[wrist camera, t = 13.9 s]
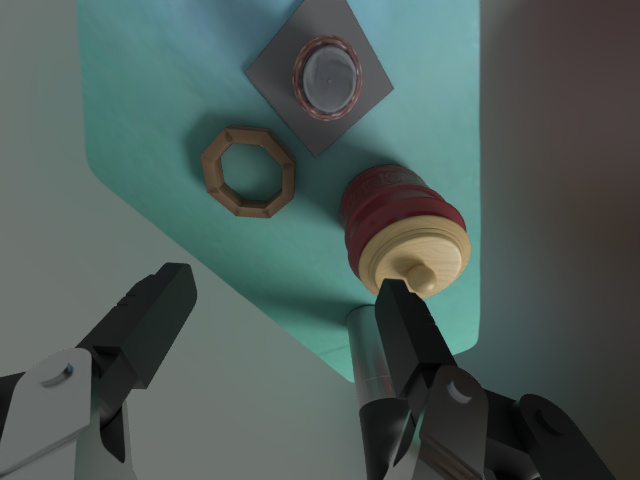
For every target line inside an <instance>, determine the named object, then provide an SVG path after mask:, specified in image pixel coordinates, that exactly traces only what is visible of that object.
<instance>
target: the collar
mask: <svg viewBox="0 0 640 480" xmlns="http://www.w3.org/2000/svg"><path fill="white" fill-rule="evenodd" d="M232 143H243V144H255V145H262V146H263V147H264V148H265V150H266V151H267V152H268V153H269V154H270V155H271V156H272V157H273V158H274V159H275V160H276V161H277V162H278V163H279V165H280V166H281V167H282V189H281V190H280V191H279V192H278V193H277V194H276V195H274V196H273V197H272V198H271V199H270V200H269V201H255V200H244V199H242V198H241V197H240V196H239V195H238V194H237V193H236V192H235V191H233V190H232V189H231V188H230V187H229V186H228V185H227V184H226V183H224V178H223V171H222V165H221V158H220V157H221V155H222V154H223V153H224V152H225V151H226V150H227V149H228V148H229V147H230V146H231V145H232ZM200 157H201V162H202V167H203V172H204V177H205V182H206V187H207V192H208V193H209V194H210V195H211V196H212V197H214V198H215V199H216V200H217V201H218V202H220V203H221V204H222V205H223V206H224V207H226V208H227V209H228V210H229V211H230V212H232V213H233V214H234V215H235V216H241V217H256V218H271V217H272V216H273V215H274V214H275V213H277V212H278V211H279V210H280V209H281V208H283V207H284V206H285V205H286V204H287V203H289V202H290V201H291V200H292V199H293V198H294V192H295V160H296V158H295V157H294V156H293V155H292V154H291V153H290V151H289V150H288V149H287V148H286V147H285V146H284V145H283V144H282V142H281V141H280V140H279V139H278V138H277V137H276V136H275V134H274V133H273V132H272V131H271V130H270V129H268V128H257V127H246V126H235V125H230V126H228V127H226V128H224V129H223V130H222V131H221V133H220V134H219V135H218V136H217V137H216V138H215V140H214V141H213V142H212V143H211V144H210V145H209V146H208V148H207V149H206V150H205V151H204V152H203V153H202V154H201V156H200Z"/></svg>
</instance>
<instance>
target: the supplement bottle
mask: <svg viewBox="0 0 640 480" xmlns="http://www.w3.org/2000/svg"><path fill="white" fill-rule="evenodd" d="M361 86H362V68H361V64H360V60H359V58H358V56H357V54H356V52H355V50H354V49H353V47H352V46H351V45H350V44H349V43H348V42H347V41H345V40H344V39H342V38H340V37H337V36H334V35H322V36H318V37H316V38H314V39H312V40H311V41H309V42H308V43H307V44H306V45H305V46H304V47H303V48H302V49H301V51H300V52H299V54H298V55H297V57H296V60H295V62H294V66H293V71H292V87H293V91H294V94H295V97H296V100H297V102H298V103H299V105H300V107H301V108H302V109H303V110H304V111H305V112H306V113H307V114H308V115H310V116H311V117H313V118H315V119H318V120H321V121H332V120H336V119H338V118H341V117H343V116H344V115H345V114H347V113H348V112H349V111H350V110H351V108H352V107H353V106H354V104H355V103H356V101H357V99H358V96H359V94H360V91H361Z"/></svg>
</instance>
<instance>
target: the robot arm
mask: <svg viewBox="0 0 640 480" xmlns="http://www.w3.org/2000/svg"><path fill="white" fill-rule="evenodd" d="M196 300H197V289H196V286H195V281H194V277H193V274H192V270H191V267H190V265H189V264H184V263H165V264H164V265H163V266H162V267H161V268H160V270H159V271H158V272H157V273H156V274H155V275H149V276H147V277H146V278H144V279H143V280H141V281H139V282H138V283H136V284H135V286H133V287H132V288H131V290H130V291H129V292H128V293H127V294H126V296H125V297H123V298H122V299H121V300H120V301H119V302H118V303H117V306H114V307H113V308H112V309H111V311H110V312H109V313H108V314H107V315H106V316H105V317H104V318H103V319H102V320H101V321H100V322H99V323H98V324H97V325H96V326H95V327H94V328H93V329H92V331H91V332H90V333H89V334H88V335H87V336H86V337H85V338H84V339H83V340H82V341H81V342H80V343H79V344H78V345H77V346H76V347H75V348H72V349H67V350H63V351H60V352H57V353H55V354H53V355H51V356H48V357H47V358H45V359H43V360H42V361H40V362H38V363H37V364H36V365H34V366H33V367H32V368H30V369H29V370H28V371H27V372H22V373H18V374H13V375H9V376H5V377H0V480H137V477H136V474H135V472H134V470H133V465H132V458H131V446H130V434H129V423H128V410H127V402H126V400H125V399H126V397H127V396H128V394H129V393H130V391H131V389H147V387H148V385H149V384H150V382H151V380H152V379H153V377H154V375H155V373H156V371H157V370H158V368H159V366H160V365H161V363H162V361H163V360H164V358H165V356H166V354H167V353H168V351H169V349H170V347H171V346H172V344H173V342H174V340H175V339H176V337H177V335H178V333H179V332H180V330H181V328H182V327H183V325H184V323H185V321H186V320H187V318H188V316H189V314H190V313H191V311H192V309H193V307H194V306H195V303H196ZM347 327H348V335H349V343H350V350H351V357H352V365H353V372H354V379H355V386H356V394H357V401H358V408H359V416H360V422H361V430H362V438H363V444H364V453H365V462H366V471H367V480H483V473H484V475H485V478H486V480H541V479H540V478H539V476H541V478H542V480H616V479H615V477H614V476H613V475H612V473H611V472H610V471H609V469H608V468H607V467H606V465H605V464H604V463H603V461H602V460H601V459H600V457H599V456H598V454H597V453H596V452H595V450H594V449H593V447H592V446H591V445H590V443H589V442H588V441H587V439H586V438H585V437H584V435H583V434H582V433H581V431H580V430H579V428H578V427H577V426H576V424H575V423H574V422H573V421H572V420H571V418H570V417H569V416H568V415H567V414H566V413H564V412H563V411H562V410H561V409H560V408H559V407H558V406H556V405H555V404H553V403H552V402H550V401H549V400H547V399H545V398H543V397H541V396H538V395H534V394H525V395H523V396H522V397H521V398H519V399H518V400H517V401H516V400H513V399H510V398H507V397H505V396H502V395H499V394H496V393H494V392H491V391H489V390H486V389H484V388H483V387H482V386H481V384H480V383H479V382H478V381H477V380H476V379H475V378H474V377H473V376H472V375H471V374H470V373H468V372H467V371H465V370H464V369H462V368H460V367H458V365H457V364H456V362H455V360H454V358H453V356H452V354H451V352H450V350H449V348H448V346H447V344H446V342H445V340H444V338H443V337H442V335H441V333H440V331H439V329H438V327H437V326H436V325H435V321H434V319H433V317H432V316H431V313H430V311H429V309H428V307H427V306H426V304H425V302H424V301H423V300H422V299H421V298H420V297H419V296H418V295H417V294H416V293H414V292H409V290H408V288H407V285H406V283H405V281H404V280H403V279H391V278H384V279H383V281H382V284H381V287H380V290H379V293H378V296H377V299H376V302H375V306H363V307H359V308H357V309H355V310H353V311H352V312H351V313H350V314H349V315H348V317H347ZM393 454H394V455H393ZM392 455H393V458H392V461H391V464H390V466H389V462H390V459H391V457H392Z"/></svg>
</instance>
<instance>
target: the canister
mask: <svg viewBox="0 0 640 480" xmlns="http://www.w3.org/2000/svg"><path fill="white" fill-rule="evenodd" d="M340 218H341V223H342V226H343V229H344V232H345V245H346V248H347V251H348V260H349V264H350V267H351V269H352V271H353V273H354V274H355V275H356V276H357V278H358V279H360V280H361V281H362V283H363V284H364V286H365V287H366V288H367V289H368V290H369V291H370V292H371V293H373V294H374V295H376V296H378V293H379V290H380V287H381V284H382V281H383V279H384V278H391V279H403V280H404V281H405V283H406V285H407V288H408V290H409V292H414V293H416V294H417V295H418V296H419V297H420V298H421V299H423V298H426V297H429V296H432V295H434V294H436V293H438V292H440V291H441V290H443V289H444V288H446V287H447V286H449V285H450V284H451V283H452V282H453V281H455V280H456V279H457V278H458V277H459V275H460V274H461V273H462V272H463V270H464V269H465V267H466V265H467V263H468V260H469V257H470V252H471V245H470V240H469V237H468V235H467V231H466V225H465V222H464V219H463V217H462V216H461V214H460V213H459V211H458V210H457V209H456V208H454V207H453V206H452V205H450V204H449V203H447V202H446V201H445V200H444V199H443V198H442V196H441V195H439V194H438V193H437V192H435V191H434V190H432V189H430V188H429V187H428V186H427V185H426V184H425V182H424V181H423V180H422V179H421V178H420V177H419V176H418V175H417V174H416V173H414V172H413V171H411V170H409V169H407V168H404V167H401V166H396V165H380V166H375V167H372V168H370V169H367V170H365V171H364V172H362V173H361V174H359V175H358V176H357V177H355V178H354V179H353V180H352V181H351V183H350V184H349V185H348V187H347V188H346V190H345V192H344V194H343V197H342V201H341V205H340Z"/></svg>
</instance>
